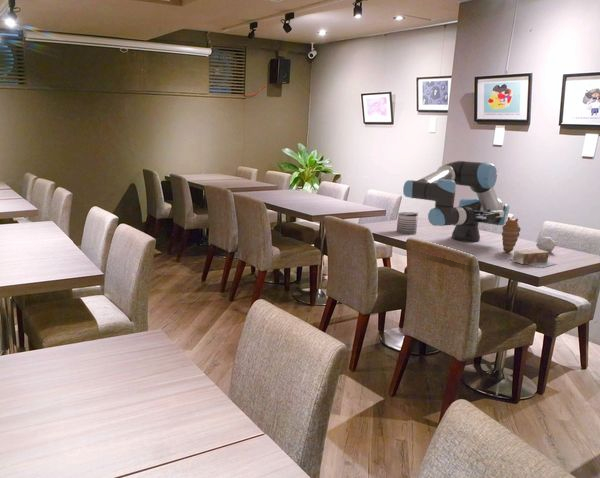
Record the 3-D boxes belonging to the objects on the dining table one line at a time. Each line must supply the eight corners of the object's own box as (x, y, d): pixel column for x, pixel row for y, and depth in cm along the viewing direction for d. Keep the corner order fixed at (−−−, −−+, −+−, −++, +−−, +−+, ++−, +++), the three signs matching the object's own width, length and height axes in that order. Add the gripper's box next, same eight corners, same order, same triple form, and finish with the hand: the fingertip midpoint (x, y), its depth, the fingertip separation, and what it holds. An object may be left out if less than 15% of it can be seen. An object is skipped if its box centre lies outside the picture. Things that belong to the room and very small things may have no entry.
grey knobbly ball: (552, 256, 261) (561, 240, 262) (538, 246, 261) (547, 231, 262) (544, 257, 269) (553, 242, 270) (530, 248, 269) (539, 233, 271)
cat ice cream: (519, 253, 260) (524, 218, 256) (512, 255, 255) (517, 219, 251) (502, 249, 266) (507, 215, 262) (495, 251, 261) (500, 216, 257)
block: (524, 253, 235) (548, 252, 242) (514, 250, 240) (538, 249, 247) (522, 264, 236) (547, 262, 243) (512, 261, 242) (537, 259, 248)
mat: (505, 258, 246) (505, 258, 246) (520, 255, 255) (520, 254, 255) (541, 268, 233) (542, 267, 233) (556, 264, 241) (556, 263, 241)
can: (407, 235, 289) (409, 214, 286) (392, 231, 297) (394, 211, 295) (420, 233, 296) (422, 213, 293) (404, 230, 305) (406, 210, 302)
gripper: (450, 221, 227) (491, 219, 236) (470, 227, 215) (512, 224, 225) (452, 204, 225) (493, 203, 235) (472, 210, 214) (515, 208, 223)
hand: (502, 213), depth 230 cm, fingers closed
